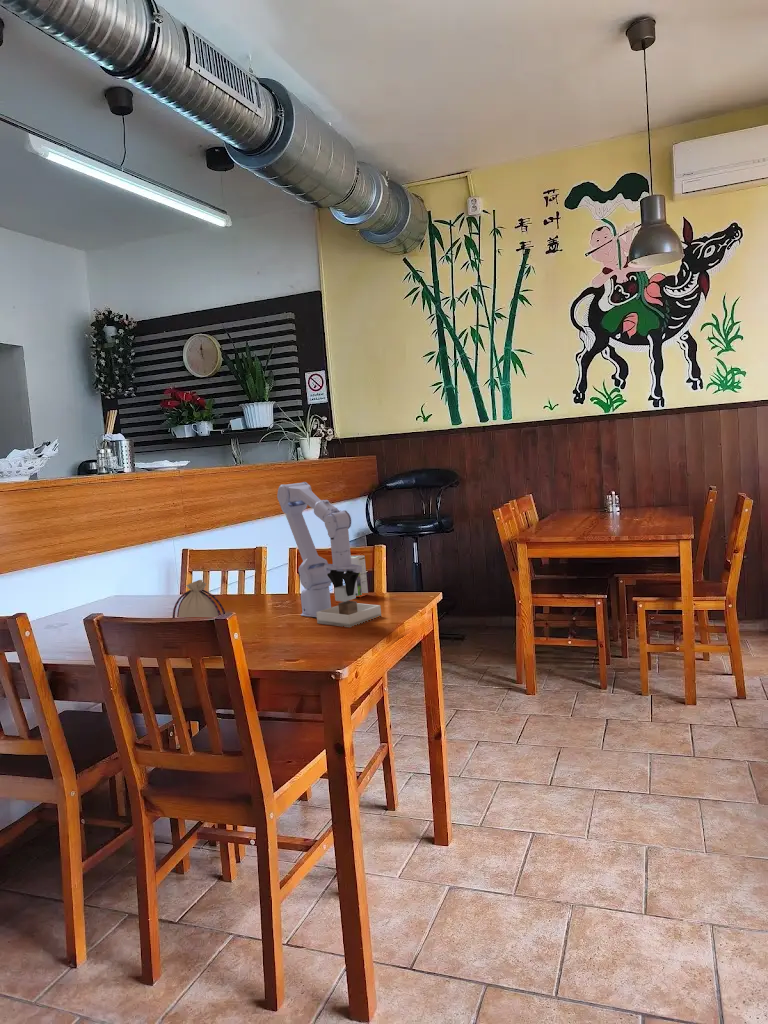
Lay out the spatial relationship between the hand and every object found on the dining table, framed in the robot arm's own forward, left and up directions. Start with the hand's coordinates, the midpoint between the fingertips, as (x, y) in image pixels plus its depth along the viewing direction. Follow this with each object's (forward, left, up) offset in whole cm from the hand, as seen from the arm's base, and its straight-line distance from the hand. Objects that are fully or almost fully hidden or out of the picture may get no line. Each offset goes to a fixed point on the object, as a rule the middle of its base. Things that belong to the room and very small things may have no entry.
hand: (345, 594), depth 224 cm
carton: (0, 0, -1) cm, 1 cm away
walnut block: (0, 0, -7) cm, 7 cm away
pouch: (-20, -39, -8) cm, 45 cm away
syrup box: (-23, +29, -8) cm, 37 cm away
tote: (0, +1, -8) cm, 8 cm away
